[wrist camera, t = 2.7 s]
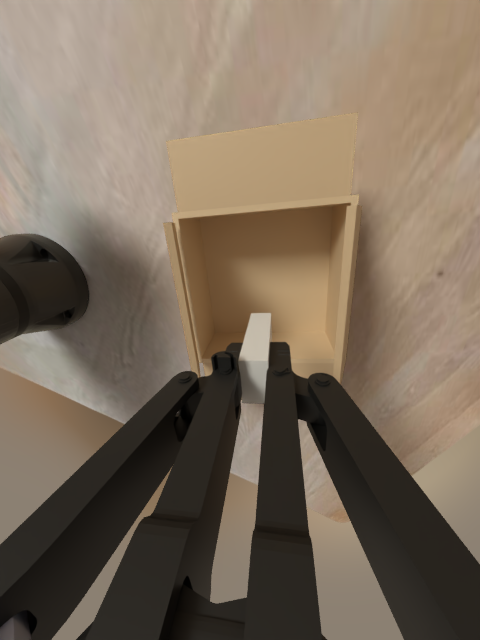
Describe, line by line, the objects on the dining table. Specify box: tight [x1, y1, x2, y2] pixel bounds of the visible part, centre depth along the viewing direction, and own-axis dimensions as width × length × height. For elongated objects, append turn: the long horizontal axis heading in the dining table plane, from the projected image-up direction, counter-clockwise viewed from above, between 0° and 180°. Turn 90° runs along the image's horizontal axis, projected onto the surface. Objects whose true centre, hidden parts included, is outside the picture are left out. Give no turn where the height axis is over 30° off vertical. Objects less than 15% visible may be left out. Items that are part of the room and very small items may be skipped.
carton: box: [166, 112, 359, 400], centre depth 30 cm, size 18×30×8 cm, turn 5°
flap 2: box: [333, 205, 362, 385], centre depth 21 cm, size 1×16×7 cm, turn 5°
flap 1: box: [163, 222, 200, 378], centre depth 24 cm, size 1×16×7 cm, turn 5°
